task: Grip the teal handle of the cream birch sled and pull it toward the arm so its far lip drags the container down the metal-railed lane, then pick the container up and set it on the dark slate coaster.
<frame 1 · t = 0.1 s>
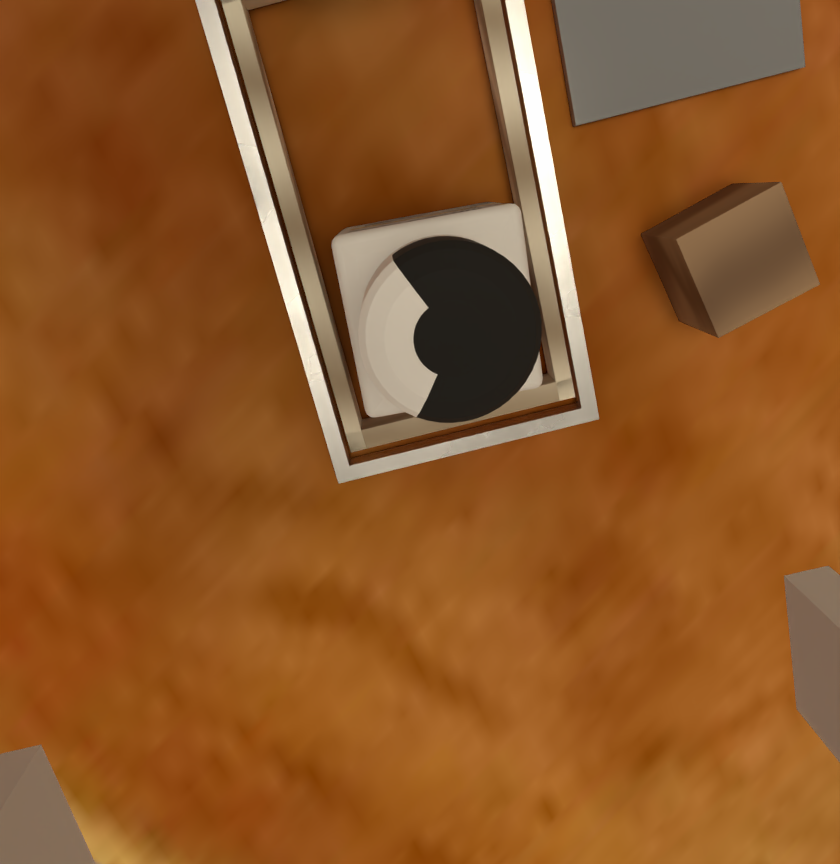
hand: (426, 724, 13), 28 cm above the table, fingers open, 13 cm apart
sled: (408, 188, 33), point 5 cm above the table, slide at 0.0 cm
lanes: (390, 127, 37), on the table
walnut cube: (704, 253, 39), on the table
container: (429, 292, 39), resting in sled
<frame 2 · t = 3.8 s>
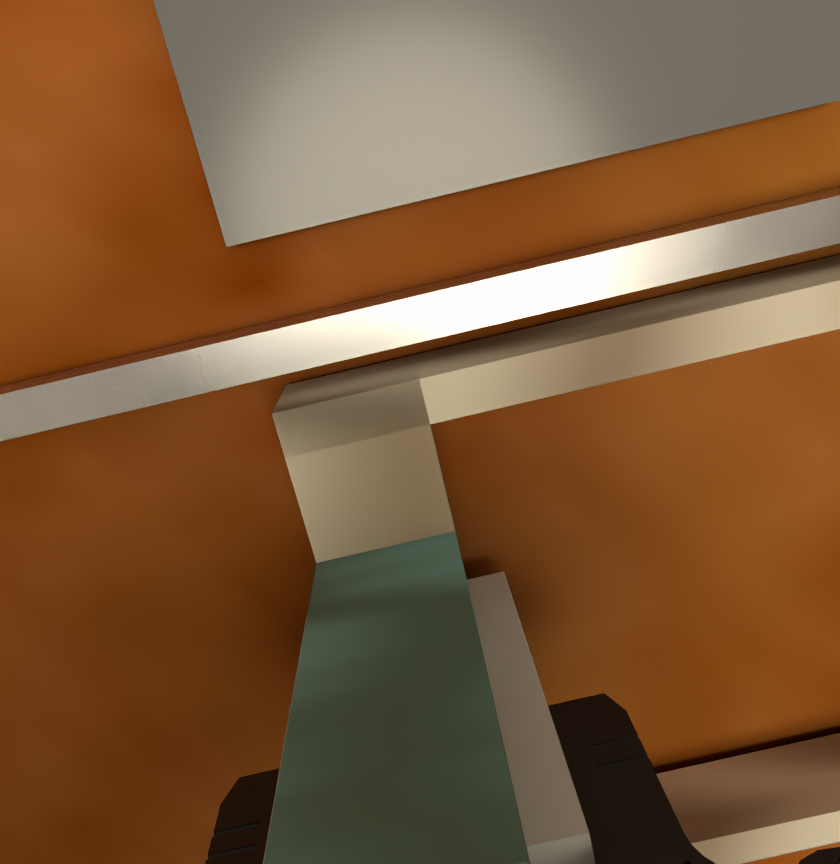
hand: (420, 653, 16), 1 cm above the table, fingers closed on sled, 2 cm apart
lanes: (762, 547, 16), on the table
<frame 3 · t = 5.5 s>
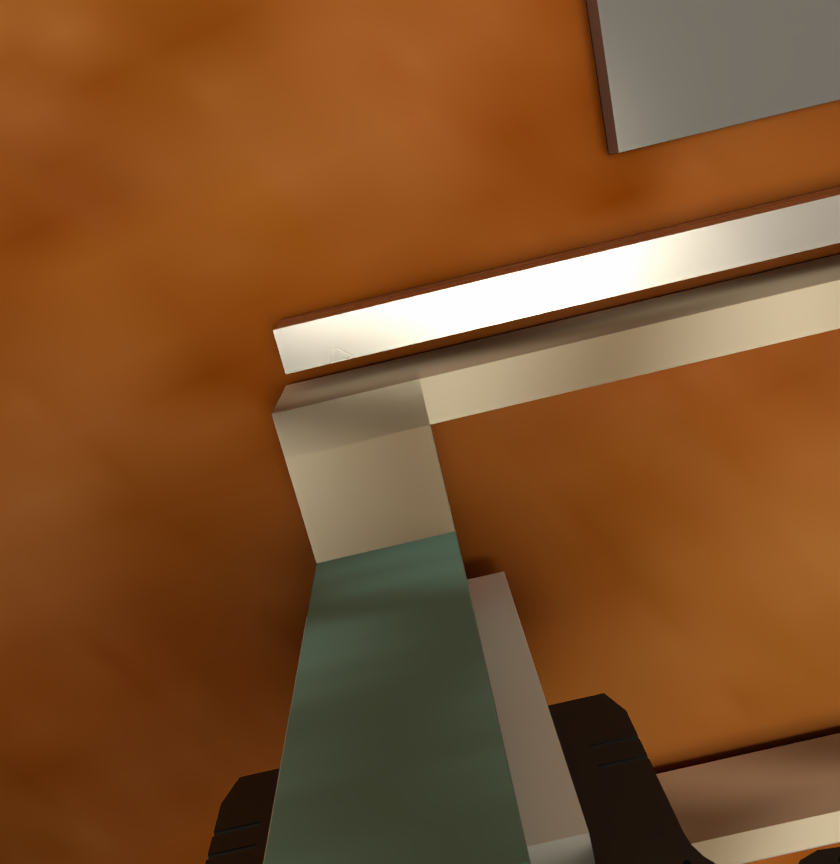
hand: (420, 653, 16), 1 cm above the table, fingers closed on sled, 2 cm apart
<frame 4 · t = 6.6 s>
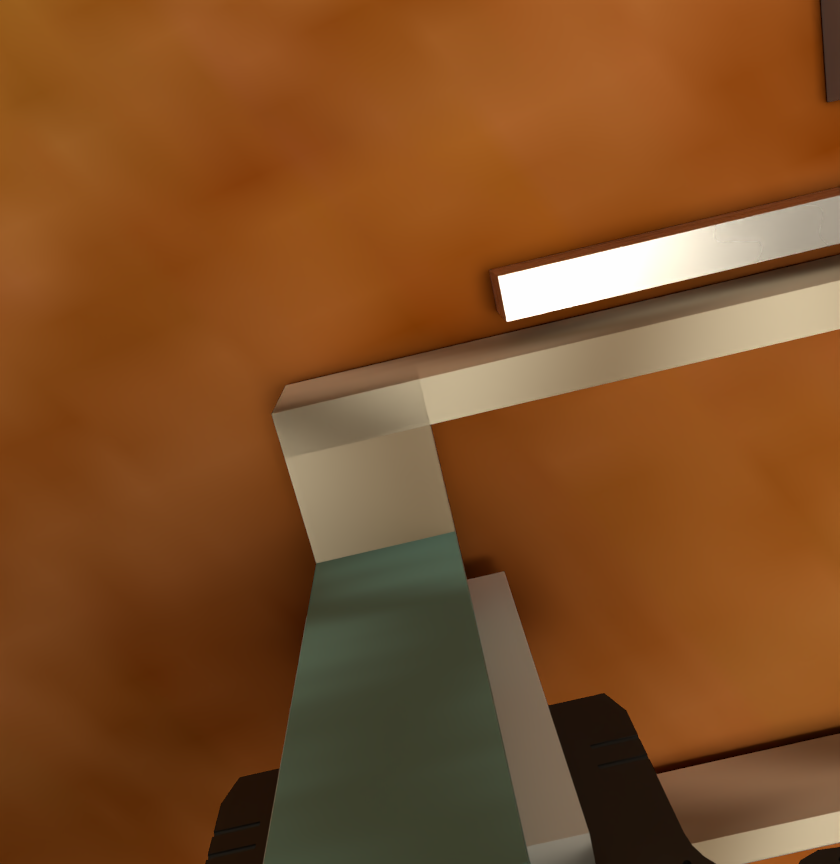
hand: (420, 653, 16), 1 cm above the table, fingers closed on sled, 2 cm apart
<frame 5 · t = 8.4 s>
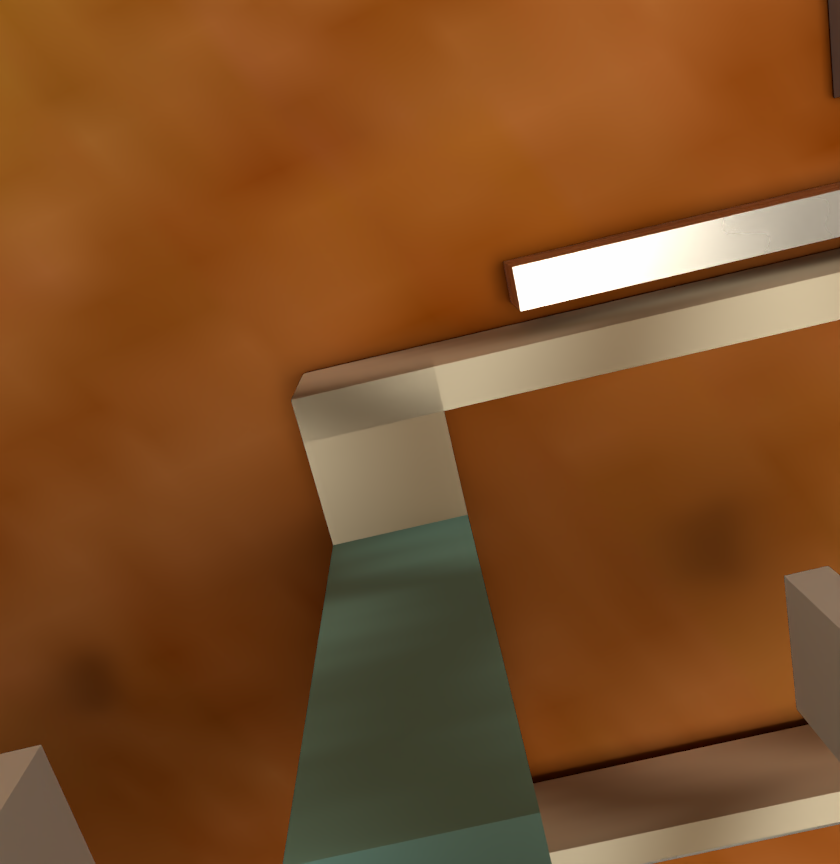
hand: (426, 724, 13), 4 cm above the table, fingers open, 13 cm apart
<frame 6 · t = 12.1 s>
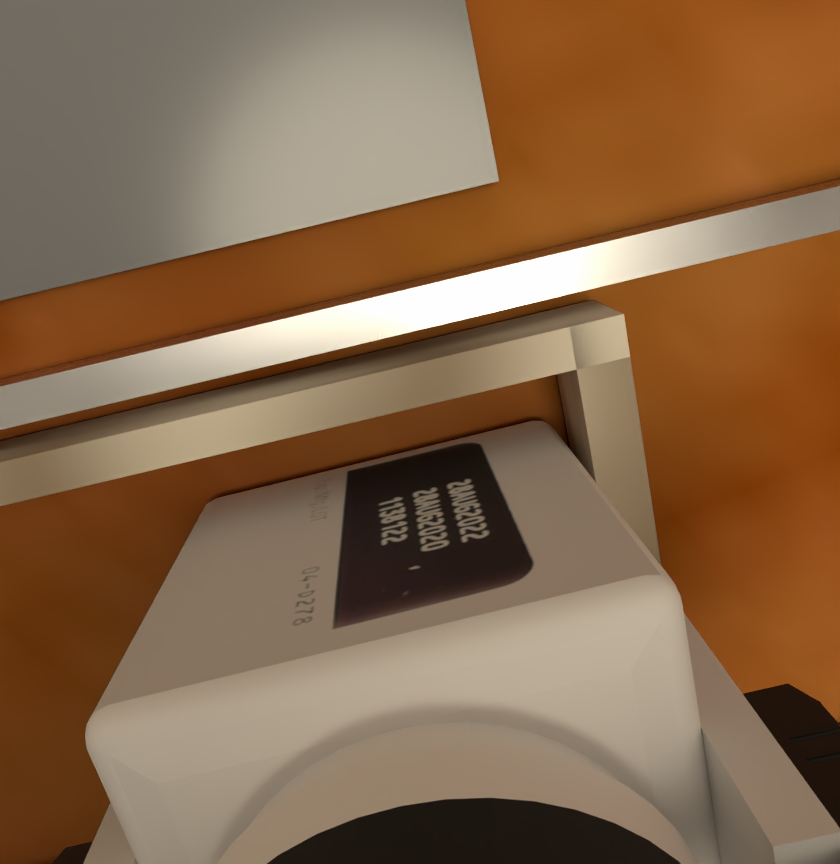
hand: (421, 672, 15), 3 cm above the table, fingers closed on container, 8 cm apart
sled: (58, 820, 13), point 5 cm above the table, slide at 11.0 cm
lanes: (481, 582, 18), on the table
container: (415, 603, 18), resting in sled, touching gripper
when the fingers open (5 cm above the table, at t = 17.8 s): container drops 1 cm, resting on coaster.
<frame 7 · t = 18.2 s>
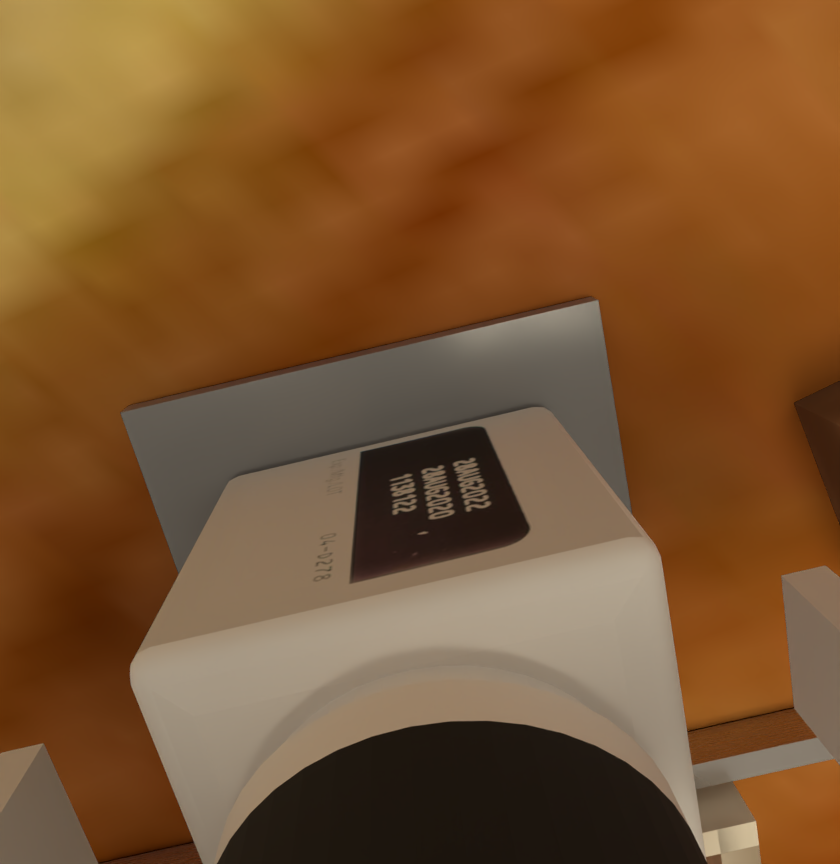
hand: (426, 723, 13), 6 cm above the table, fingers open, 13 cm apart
coaster: (412, 560, 19), on the table
container: (421, 578, 19), resting on coaster
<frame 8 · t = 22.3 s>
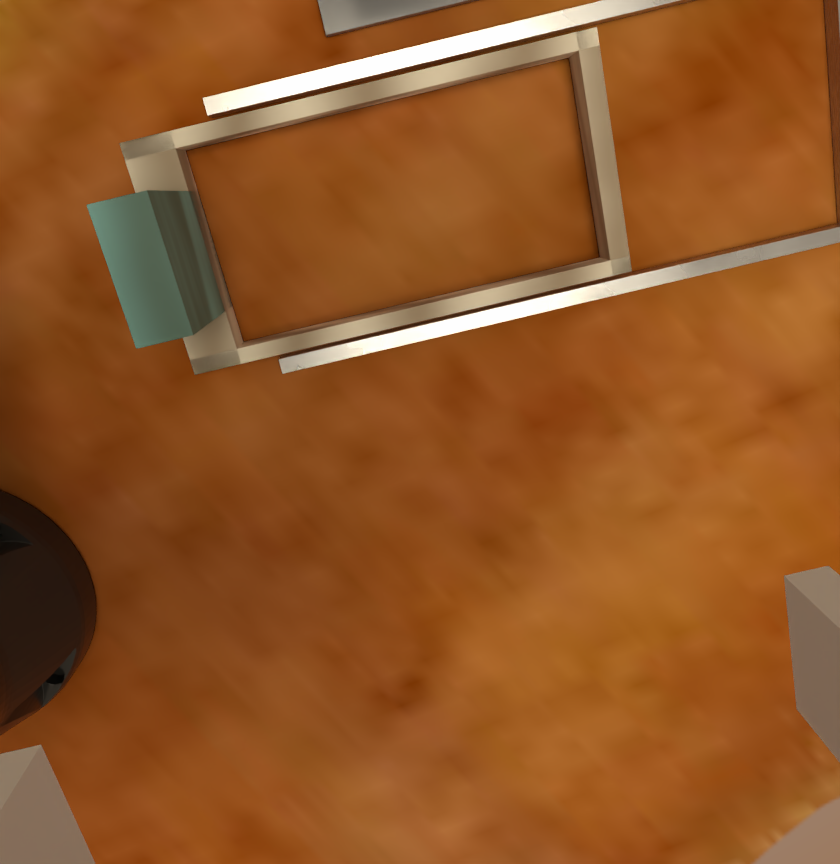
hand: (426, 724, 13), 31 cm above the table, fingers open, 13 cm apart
sled: (385, 210, 36), point 5 cm above the table, slide at 11.0 cm
lanes: (537, 172, 40), on the table
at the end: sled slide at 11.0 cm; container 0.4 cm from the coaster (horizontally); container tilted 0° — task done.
